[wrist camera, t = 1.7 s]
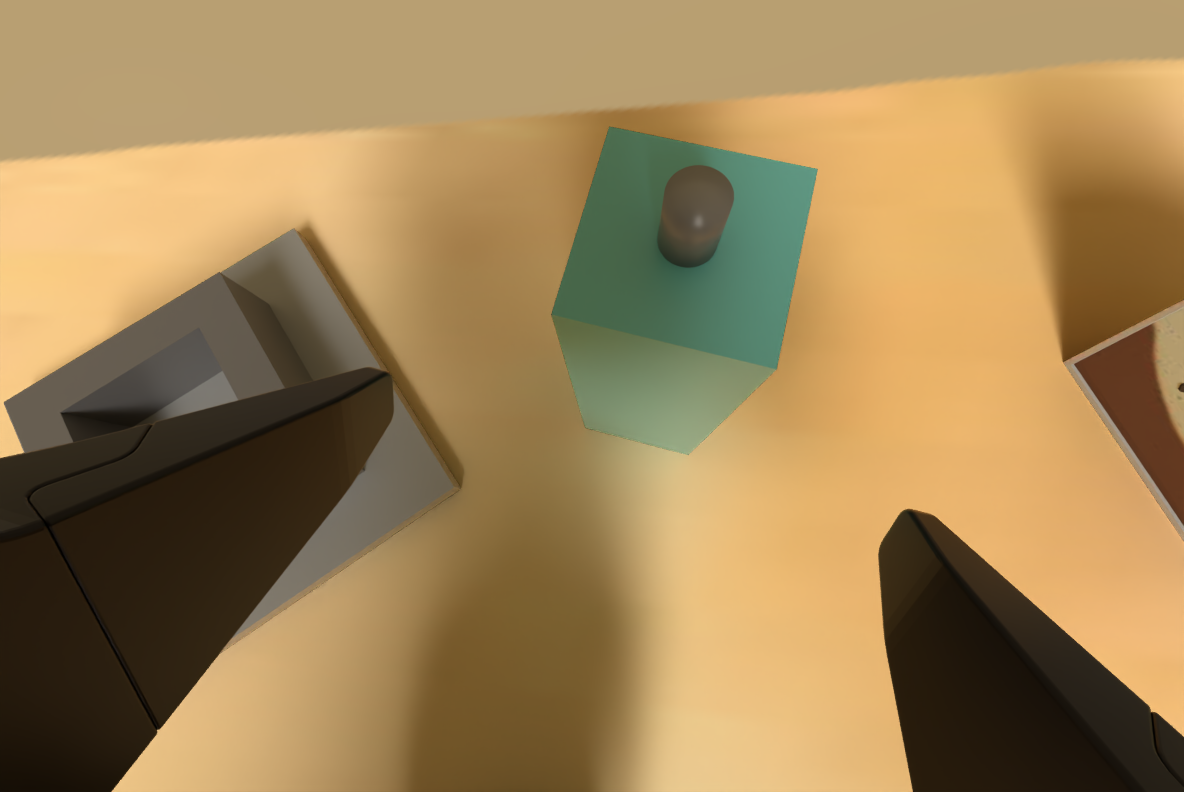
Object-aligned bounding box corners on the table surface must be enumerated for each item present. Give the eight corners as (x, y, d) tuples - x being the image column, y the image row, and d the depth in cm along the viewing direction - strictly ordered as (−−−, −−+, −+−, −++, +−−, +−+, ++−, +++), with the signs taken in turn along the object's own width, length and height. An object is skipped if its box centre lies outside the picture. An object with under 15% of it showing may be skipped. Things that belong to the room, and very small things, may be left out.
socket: (461, 488, 22) (428, 481, 18) (153, 699, 21) (48, 738, 17) (306, 239, 25) (250, 187, 21) (28, 408, 24) (-86, 385, 20)
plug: (688, 455, 22) (804, 342, 9) (585, 427, 23) (540, 280, 9) (711, 355, 23) (848, 114, 10) (612, 331, 24) (608, 68, 10)
